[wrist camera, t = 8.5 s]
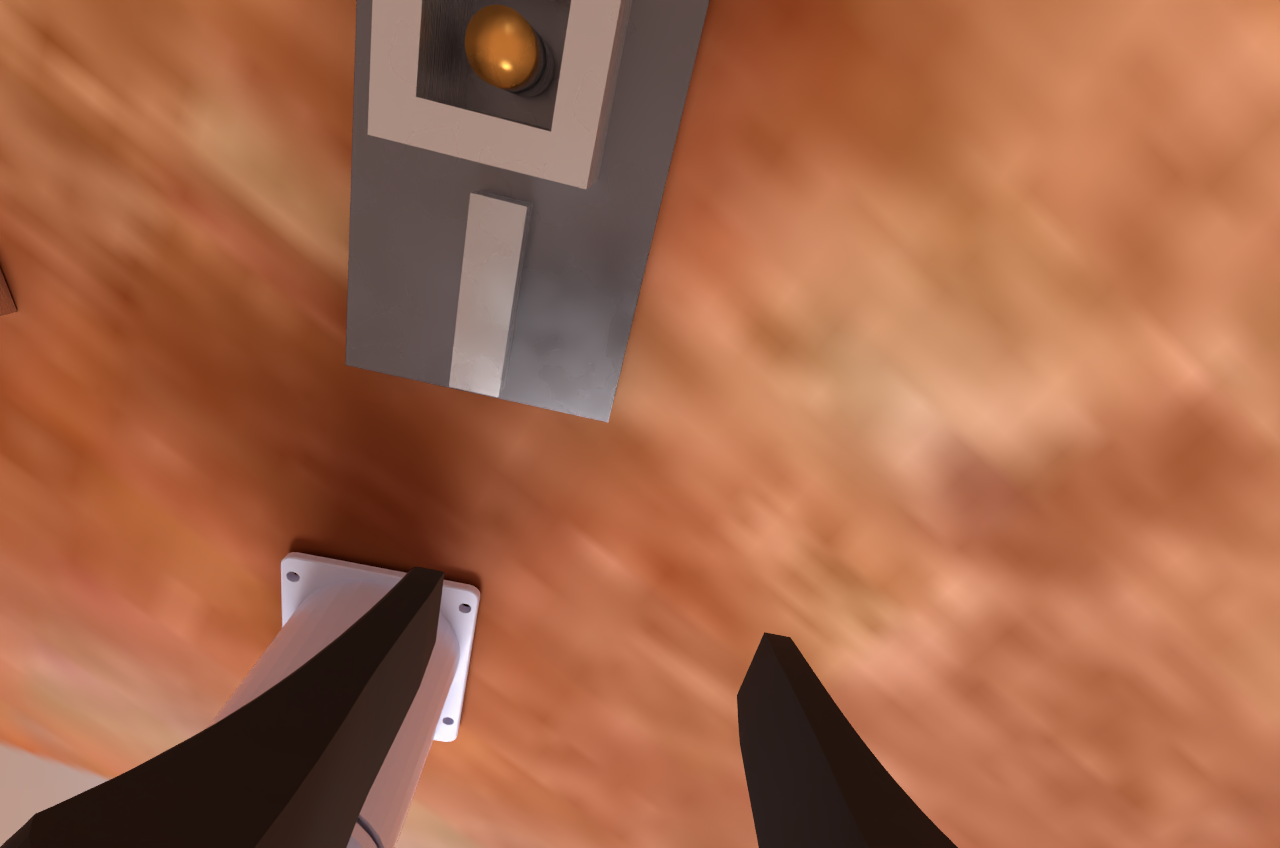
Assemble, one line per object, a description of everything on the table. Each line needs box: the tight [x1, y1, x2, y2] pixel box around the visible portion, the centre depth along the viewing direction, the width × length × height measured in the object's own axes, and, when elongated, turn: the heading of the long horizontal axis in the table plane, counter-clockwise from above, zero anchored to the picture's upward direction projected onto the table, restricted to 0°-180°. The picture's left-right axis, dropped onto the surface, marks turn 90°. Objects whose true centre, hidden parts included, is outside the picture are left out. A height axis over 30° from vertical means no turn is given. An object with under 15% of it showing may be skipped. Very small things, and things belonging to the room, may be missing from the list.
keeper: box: [346, 0, 709, 422], centre depth 17 cm, size 14×9×4 cm, turn 167°
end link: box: [368, 0, 632, 189], centre depth 14 cm, size 5×5×4 cm
